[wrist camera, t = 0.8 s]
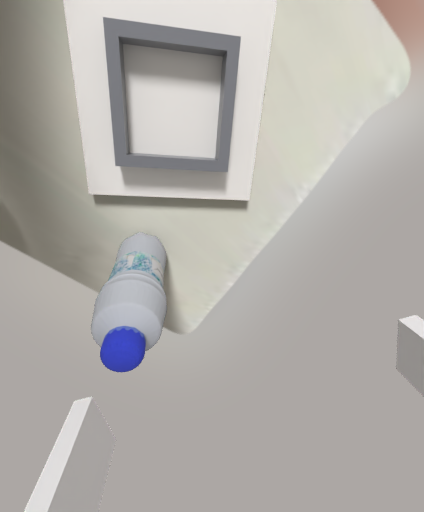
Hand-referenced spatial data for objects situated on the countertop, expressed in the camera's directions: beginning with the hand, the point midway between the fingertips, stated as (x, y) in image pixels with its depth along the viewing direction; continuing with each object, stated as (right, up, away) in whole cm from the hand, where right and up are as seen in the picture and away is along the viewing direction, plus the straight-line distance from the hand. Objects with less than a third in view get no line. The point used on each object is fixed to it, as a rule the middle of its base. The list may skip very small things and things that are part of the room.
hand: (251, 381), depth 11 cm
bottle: (-11, +6, +26) cm, 29 cm away
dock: (-6, +22, +19) cm, 30 cm away
